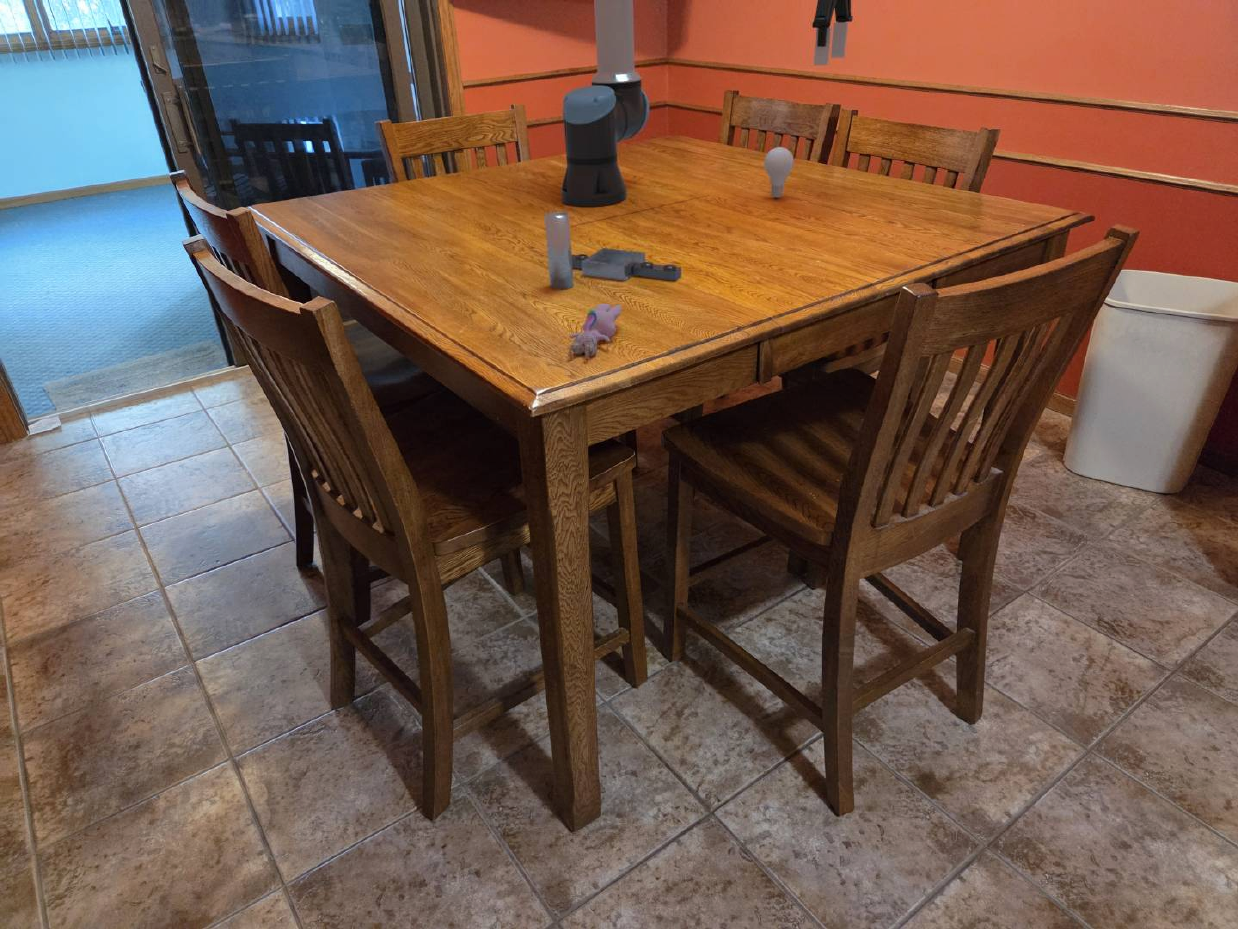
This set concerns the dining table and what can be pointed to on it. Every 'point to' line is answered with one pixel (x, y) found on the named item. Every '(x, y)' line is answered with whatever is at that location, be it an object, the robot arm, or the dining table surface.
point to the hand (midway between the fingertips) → (829, 61)
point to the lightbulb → (778, 169)
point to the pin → (559, 250)
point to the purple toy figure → (595, 330)
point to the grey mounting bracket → (622, 265)
